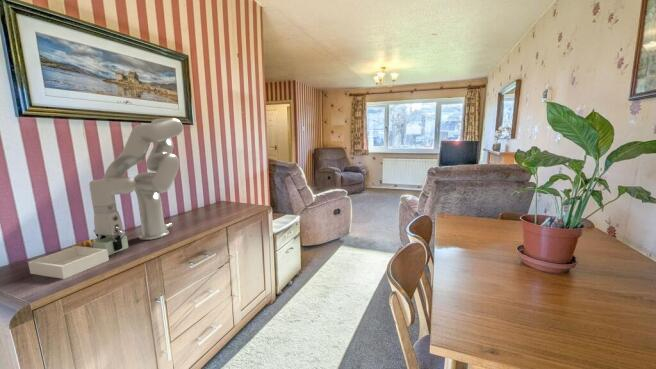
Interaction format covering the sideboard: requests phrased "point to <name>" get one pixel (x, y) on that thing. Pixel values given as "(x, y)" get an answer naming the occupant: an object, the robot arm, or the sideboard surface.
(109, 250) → the small crate
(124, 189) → the robot arm
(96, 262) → the big crate
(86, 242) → the pastry
